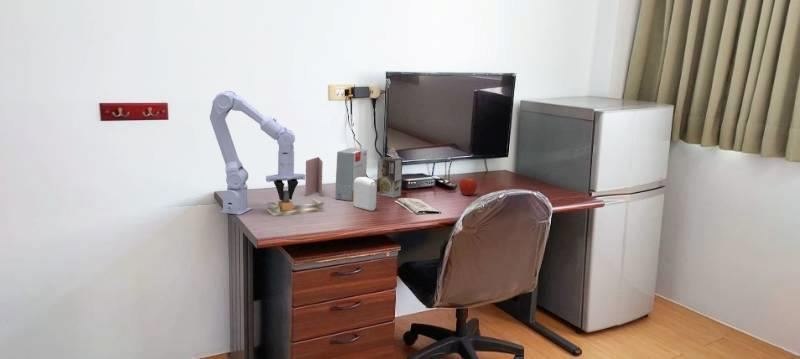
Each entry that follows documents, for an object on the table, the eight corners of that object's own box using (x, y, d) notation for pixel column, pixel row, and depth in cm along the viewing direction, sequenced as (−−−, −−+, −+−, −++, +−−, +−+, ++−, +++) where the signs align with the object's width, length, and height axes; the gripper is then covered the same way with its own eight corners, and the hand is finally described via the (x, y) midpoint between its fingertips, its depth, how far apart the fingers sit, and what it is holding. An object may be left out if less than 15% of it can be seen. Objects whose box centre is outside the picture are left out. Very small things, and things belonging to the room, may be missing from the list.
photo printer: (351, 206, 251) (352, 175, 249) (359, 204, 254) (360, 174, 252) (369, 211, 244) (370, 180, 242) (377, 209, 248) (378, 179, 245)
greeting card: (315, 190, 275) (316, 156, 272) (331, 192, 273) (332, 158, 270) (303, 196, 264) (304, 160, 261) (319, 198, 262) (320, 162, 259)
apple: (472, 193, 286) (473, 176, 285) (479, 197, 279) (480, 179, 277) (456, 193, 284) (457, 176, 283) (462, 197, 277) (463, 179, 275)
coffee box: (401, 195, 274) (403, 158, 271) (393, 198, 269) (395, 160, 265) (383, 192, 278) (385, 156, 275) (375, 194, 273) (377, 157, 270)
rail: (273, 216, 231) (273, 206, 230) (267, 211, 237) (267, 202, 236) (324, 211, 241) (324, 202, 241) (316, 207, 247) (316, 198, 247)
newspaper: (393, 202, 263) (394, 197, 263) (420, 204, 267) (421, 199, 267) (412, 216, 242) (413, 210, 242) (441, 218, 246) (442, 212, 246)
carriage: (282, 210, 234) (282, 192, 233) (278, 208, 238) (278, 190, 236) (292, 210, 236) (292, 192, 235) (288, 207, 240) (288, 189, 238)
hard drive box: (351, 201, 259) (353, 153, 255) (334, 199, 261) (335, 151, 257) (365, 194, 273) (367, 148, 269) (349, 192, 276) (351, 146, 272)
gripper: (270, 166, 226) (270, 203, 229) (308, 164, 234) (307, 200, 236) (264, 163, 232) (263, 199, 235) (301, 161, 240) (300, 196, 242)
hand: (285, 199), depth 236 cm, fingers closed on carriage, 3 cm apart
